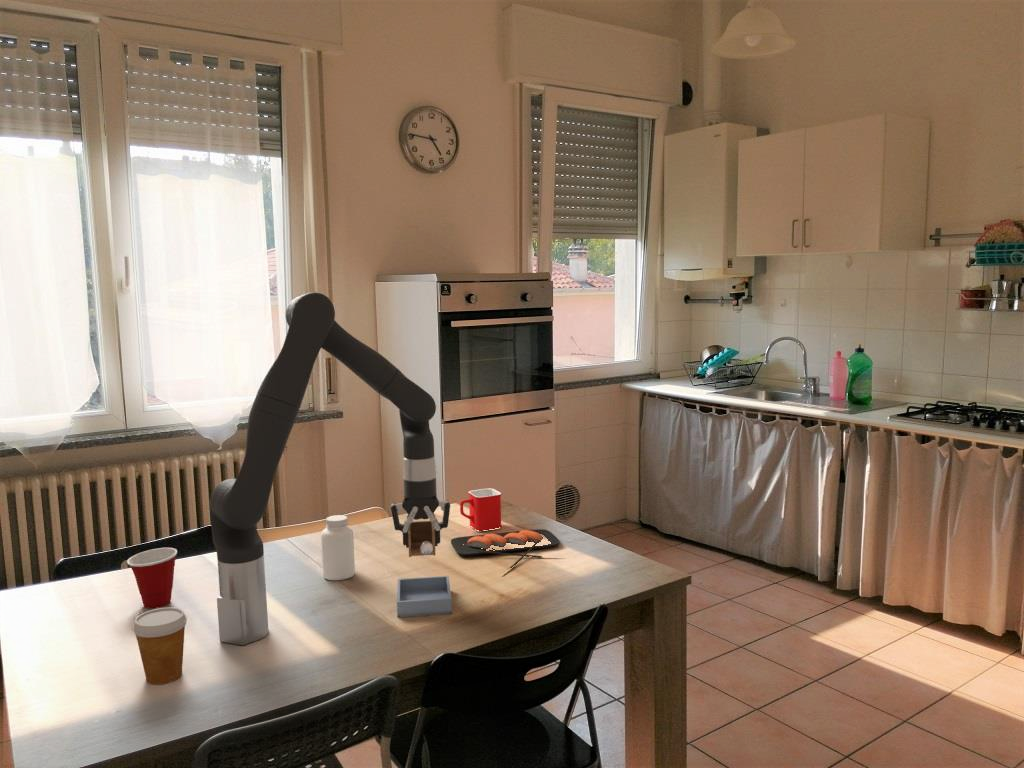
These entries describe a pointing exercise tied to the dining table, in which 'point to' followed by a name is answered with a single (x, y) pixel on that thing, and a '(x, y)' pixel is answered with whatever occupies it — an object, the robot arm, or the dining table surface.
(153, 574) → the plastic cup
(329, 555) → the pill bottle
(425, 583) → the dish
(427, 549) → the ball
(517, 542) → the sushi plate
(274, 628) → the dining table surface
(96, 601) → the dining table surface
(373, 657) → the dining table surface
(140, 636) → the disposable coffee cup
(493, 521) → the mug
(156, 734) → the dining table surface
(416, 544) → the channel
